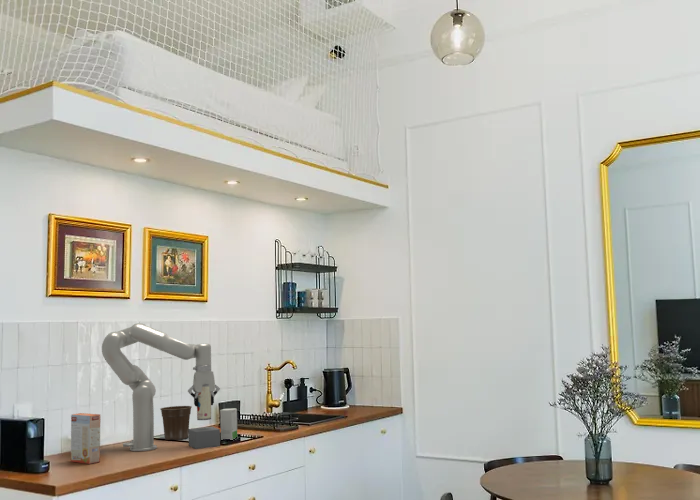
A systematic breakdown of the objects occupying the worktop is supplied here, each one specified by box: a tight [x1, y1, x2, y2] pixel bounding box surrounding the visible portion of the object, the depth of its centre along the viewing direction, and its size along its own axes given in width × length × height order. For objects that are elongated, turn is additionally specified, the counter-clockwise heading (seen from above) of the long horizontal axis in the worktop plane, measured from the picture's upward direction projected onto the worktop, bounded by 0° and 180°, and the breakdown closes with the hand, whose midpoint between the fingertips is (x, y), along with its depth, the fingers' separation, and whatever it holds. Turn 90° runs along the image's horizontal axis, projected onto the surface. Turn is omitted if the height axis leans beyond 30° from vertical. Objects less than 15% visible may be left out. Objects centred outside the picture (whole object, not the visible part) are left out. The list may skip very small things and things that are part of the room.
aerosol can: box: [196, 384, 212, 421], centre depth 349 cm, size 7×7×20 cm
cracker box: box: [70, 412, 101, 465], centre depth 315 cm, size 14×6×21 cm, turn 54°
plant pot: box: [159, 405, 192, 441], centre depth 374 cm, size 16×16×16 cm
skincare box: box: [219, 407, 238, 441], centre depth 364 cm, size 8×7×16 cm
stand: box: [188, 426, 221, 450], centre depth 347 cm, size 12×12×8 cm
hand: (204, 405), depth 349 cm, fingers closed on aerosol can, 6 cm apart
